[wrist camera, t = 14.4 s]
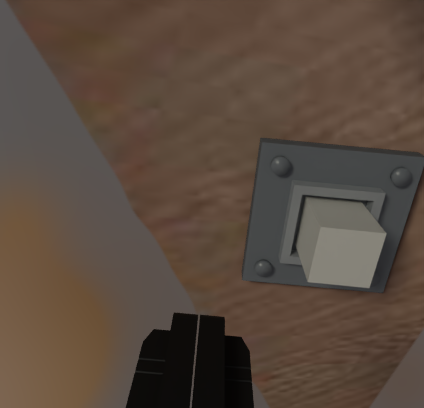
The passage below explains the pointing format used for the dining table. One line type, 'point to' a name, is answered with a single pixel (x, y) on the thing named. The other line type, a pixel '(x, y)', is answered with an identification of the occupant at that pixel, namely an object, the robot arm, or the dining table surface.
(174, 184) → the dining table surface
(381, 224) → the baseplate
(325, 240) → the brick
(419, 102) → the dining table surface
